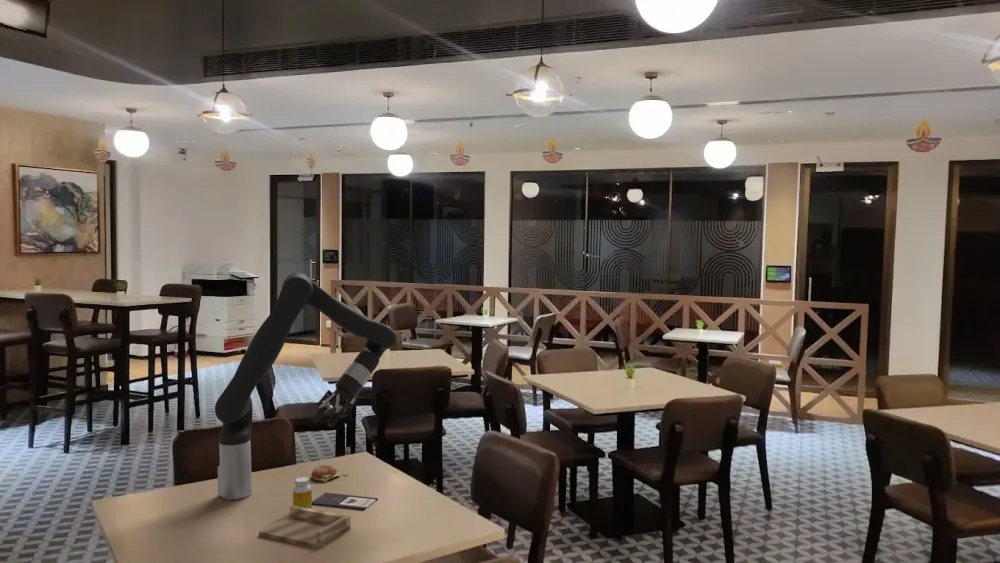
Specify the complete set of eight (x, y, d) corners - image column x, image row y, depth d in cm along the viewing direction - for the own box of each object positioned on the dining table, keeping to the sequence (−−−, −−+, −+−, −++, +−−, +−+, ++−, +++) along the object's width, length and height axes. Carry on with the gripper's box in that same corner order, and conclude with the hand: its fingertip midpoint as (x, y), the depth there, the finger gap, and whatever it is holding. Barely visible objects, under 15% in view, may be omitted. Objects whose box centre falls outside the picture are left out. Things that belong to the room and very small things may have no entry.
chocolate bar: (325, 492, 222) (377, 498, 217) (325, 495, 222) (377, 501, 217) (310, 502, 214) (364, 508, 209) (310, 505, 214) (364, 511, 209)
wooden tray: (258, 536, 191) (258, 523, 191) (293, 517, 204) (293, 505, 203) (317, 549, 183) (317, 535, 182) (350, 528, 195) (350, 516, 195)
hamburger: (329, 488, 229) (329, 470, 229) (300, 480, 237) (299, 463, 236) (359, 475, 241) (359, 458, 241) (330, 468, 249) (330, 452, 248)
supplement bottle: (291, 509, 210) (291, 477, 209) (309, 506, 212) (309, 475, 212) (294, 515, 205) (294, 483, 204) (313, 512, 207) (312, 480, 207)
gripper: (333, 370, 223) (302, 412, 216) (358, 375, 213) (326, 420, 206) (348, 384, 227) (317, 426, 220) (373, 390, 217) (343, 434, 210)
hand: (322, 423), depth 213 cm, fingers open, 8 cm apart
